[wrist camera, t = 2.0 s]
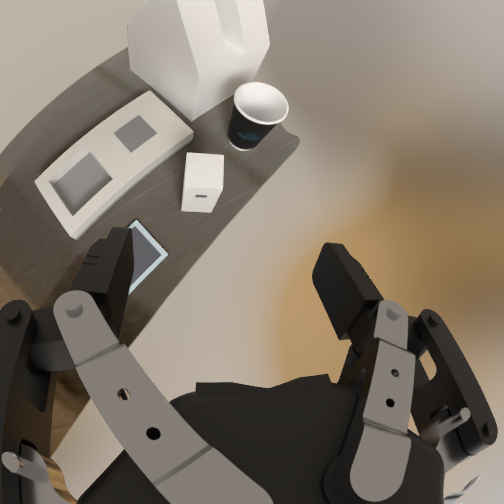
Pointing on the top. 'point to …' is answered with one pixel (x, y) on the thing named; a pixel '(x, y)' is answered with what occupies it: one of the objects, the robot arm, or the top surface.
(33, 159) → the top surface
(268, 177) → the top surface
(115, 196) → the outlet strip
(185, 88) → the milk carton
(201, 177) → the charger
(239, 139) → the dixie cup
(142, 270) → the phone
